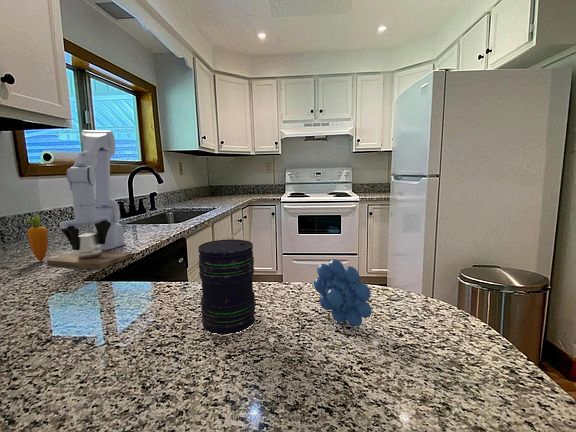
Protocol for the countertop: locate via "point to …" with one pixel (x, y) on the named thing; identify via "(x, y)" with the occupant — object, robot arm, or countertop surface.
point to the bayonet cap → (89, 245)
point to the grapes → (343, 292)
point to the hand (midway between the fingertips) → (89, 246)
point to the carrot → (38, 238)
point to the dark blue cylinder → (227, 285)
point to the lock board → (89, 260)
